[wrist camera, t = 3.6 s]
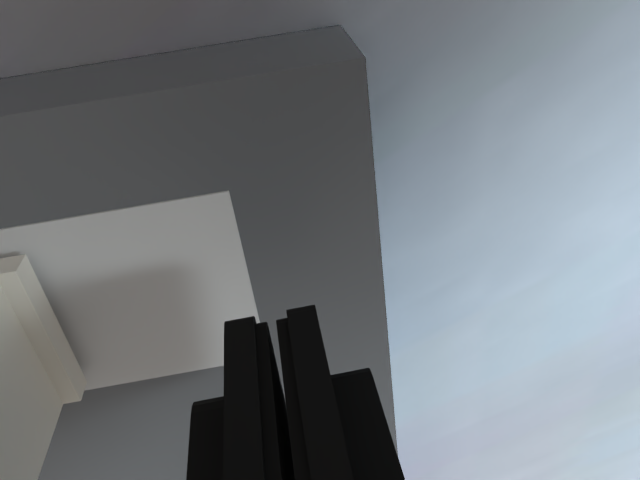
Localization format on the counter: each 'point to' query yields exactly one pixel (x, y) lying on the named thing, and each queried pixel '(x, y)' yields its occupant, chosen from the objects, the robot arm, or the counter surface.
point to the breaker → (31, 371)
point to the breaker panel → (191, 228)
